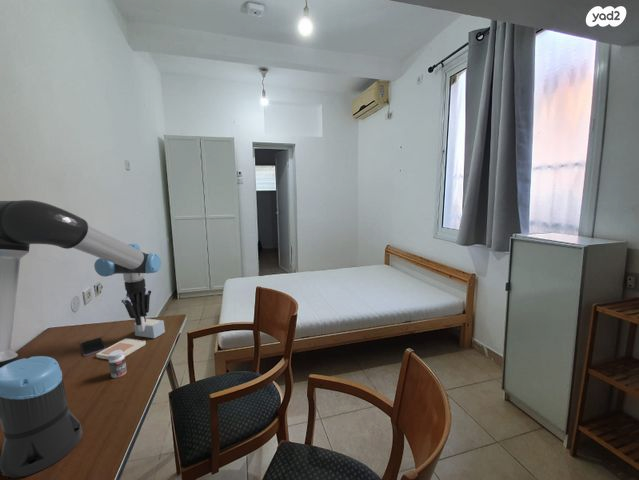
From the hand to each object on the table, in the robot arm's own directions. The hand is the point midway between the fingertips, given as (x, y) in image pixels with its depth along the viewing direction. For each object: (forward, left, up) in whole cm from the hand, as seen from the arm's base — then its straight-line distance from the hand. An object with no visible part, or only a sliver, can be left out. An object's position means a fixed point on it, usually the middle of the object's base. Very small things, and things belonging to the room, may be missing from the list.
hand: (142, 330), depth 129 cm
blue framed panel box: (+4, 0, -4) cm, 5 cm away
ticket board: (-10, 0, -4) cm, 11 cm away
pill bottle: (-23, -14, -4) cm, 27 cm away
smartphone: (-11, +16, -5) cm, 20 cm away
